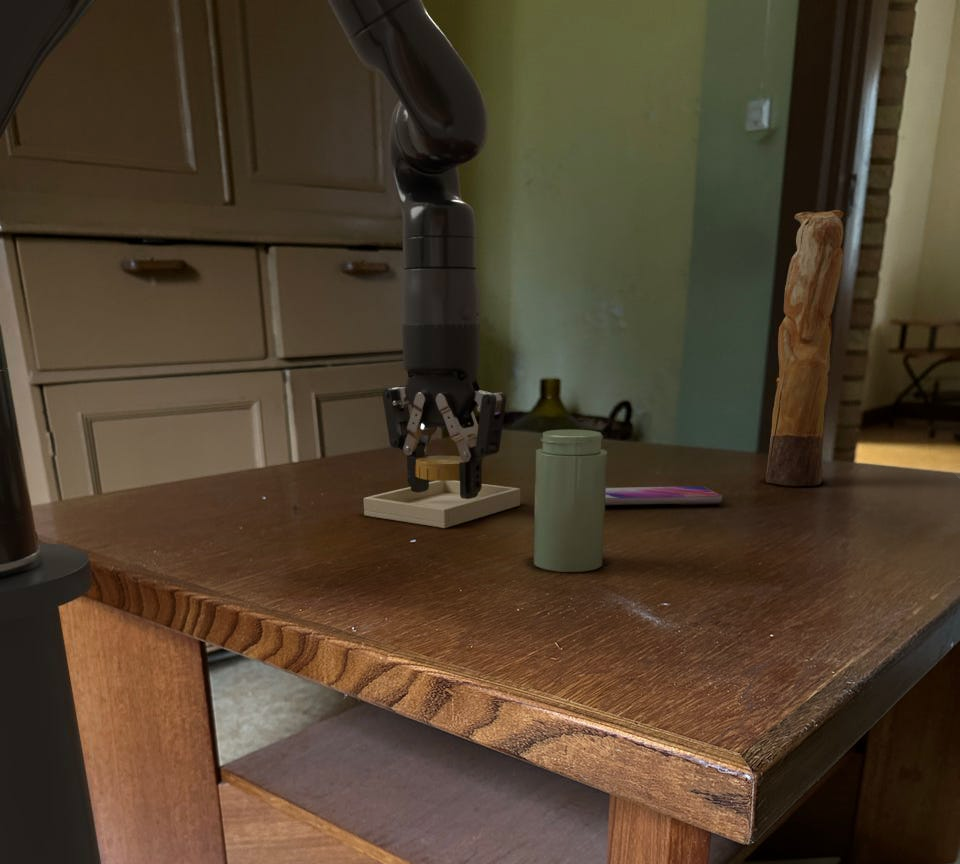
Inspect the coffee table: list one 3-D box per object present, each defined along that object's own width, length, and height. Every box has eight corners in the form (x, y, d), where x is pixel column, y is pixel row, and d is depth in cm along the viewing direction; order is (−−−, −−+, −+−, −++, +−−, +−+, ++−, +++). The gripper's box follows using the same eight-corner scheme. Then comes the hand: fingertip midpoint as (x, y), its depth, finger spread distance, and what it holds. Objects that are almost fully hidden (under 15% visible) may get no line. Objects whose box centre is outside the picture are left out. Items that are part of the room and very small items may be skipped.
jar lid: (405, 478, 91) (405, 461, 91) (431, 470, 96) (431, 454, 96) (458, 482, 89) (459, 465, 89) (482, 474, 94) (482, 457, 94)
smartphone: (570, 488, 101) (702, 485, 102) (570, 496, 101) (702, 493, 102) (582, 499, 94) (724, 496, 95) (582, 507, 94) (724, 504, 95)
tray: (444, 528, 86) (444, 509, 85) (364, 515, 92) (363, 497, 91) (520, 505, 96) (520, 488, 96) (443, 495, 102) (443, 479, 101)
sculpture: (813, 474, 114) (845, 211, 104) (828, 488, 105) (864, 201, 95) (759, 473, 115) (785, 212, 105) (768, 486, 106) (798, 203, 96)
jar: (581, 576, 70) (586, 439, 67) (520, 565, 73) (522, 434, 70) (614, 560, 75) (621, 431, 71) (555, 551, 78) (559, 427, 74)
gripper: (525, 320, 87) (522, 496, 92) (407, 319, 94) (412, 482, 100) (479, 321, 81) (480, 508, 87) (359, 320, 89) (366, 492, 94)
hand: (443, 493), depth 93 cm, fingers closed on jar lid, 5 cm apart
